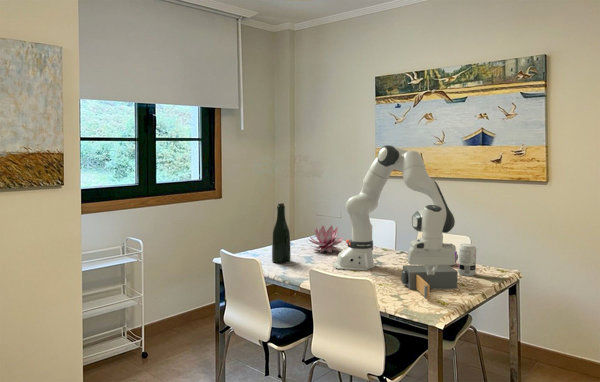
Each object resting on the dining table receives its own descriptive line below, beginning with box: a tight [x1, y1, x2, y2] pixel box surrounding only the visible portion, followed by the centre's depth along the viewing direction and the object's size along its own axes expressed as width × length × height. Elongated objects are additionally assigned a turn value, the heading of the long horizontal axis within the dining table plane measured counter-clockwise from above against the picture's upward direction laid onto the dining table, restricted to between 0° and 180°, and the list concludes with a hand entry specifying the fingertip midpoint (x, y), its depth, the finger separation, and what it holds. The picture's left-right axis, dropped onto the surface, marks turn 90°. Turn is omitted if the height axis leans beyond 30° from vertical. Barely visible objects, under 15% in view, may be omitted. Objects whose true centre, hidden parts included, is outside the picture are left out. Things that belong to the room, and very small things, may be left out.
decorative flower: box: [309, 225, 344, 253], centre depth 297 cm, size 21×21×15 cm
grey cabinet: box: [400, 265, 459, 291], centre depth 228 cm, size 24×12×8 cm, turn 94°
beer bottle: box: [271, 202, 292, 264], centre depth 272 cm, size 10×10×33 cm
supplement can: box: [457, 243, 477, 277], centre depth 246 cm, size 8×8×15 cm
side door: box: [416, 275, 431, 300], centre depth 213 cm, size 16×2×6 cm, turn 4°
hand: (430, 274), depth 211 cm, fingers closed
